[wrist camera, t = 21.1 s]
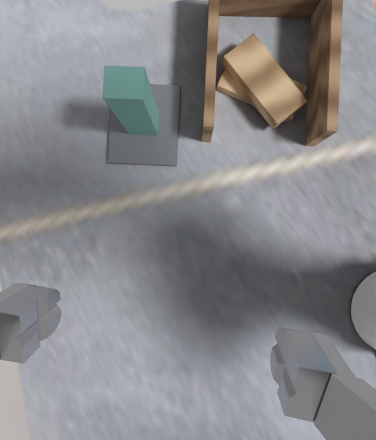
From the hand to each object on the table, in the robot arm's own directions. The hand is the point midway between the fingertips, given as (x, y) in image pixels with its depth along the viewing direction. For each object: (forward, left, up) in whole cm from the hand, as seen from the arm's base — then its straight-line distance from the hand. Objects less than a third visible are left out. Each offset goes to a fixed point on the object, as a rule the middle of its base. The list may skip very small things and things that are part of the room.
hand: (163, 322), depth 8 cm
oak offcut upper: (-11, -27, -29) cm, 41 cm away
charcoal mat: (+9, -21, -30) cm, 37 cm away
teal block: (+9, -21, -29) cm, 37 cm away
